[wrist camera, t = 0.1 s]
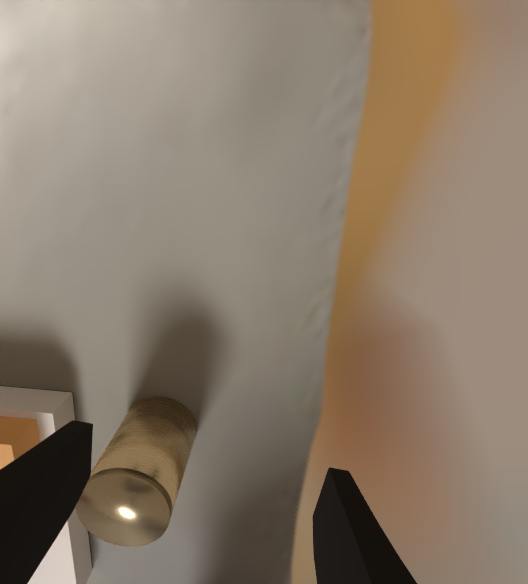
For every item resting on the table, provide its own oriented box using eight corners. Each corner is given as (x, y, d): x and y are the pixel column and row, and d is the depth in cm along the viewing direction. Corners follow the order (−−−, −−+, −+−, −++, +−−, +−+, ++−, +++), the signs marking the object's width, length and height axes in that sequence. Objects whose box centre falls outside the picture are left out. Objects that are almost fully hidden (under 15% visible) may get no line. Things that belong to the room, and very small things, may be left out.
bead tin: (195, 457, 23) (169, 550, 18) (127, 451, 23) (79, 542, 18) (197, 400, 22) (169, 481, 16) (124, 393, 22) (70, 472, 16)
